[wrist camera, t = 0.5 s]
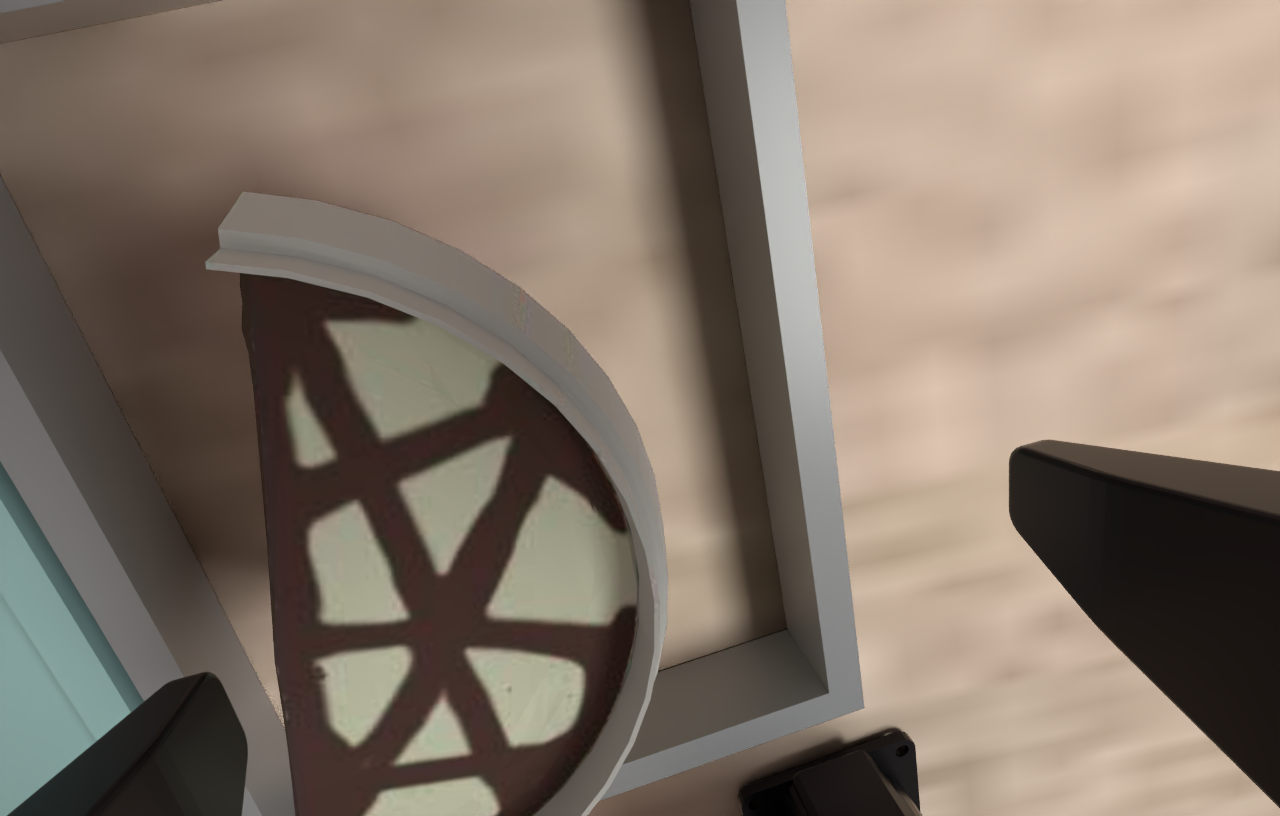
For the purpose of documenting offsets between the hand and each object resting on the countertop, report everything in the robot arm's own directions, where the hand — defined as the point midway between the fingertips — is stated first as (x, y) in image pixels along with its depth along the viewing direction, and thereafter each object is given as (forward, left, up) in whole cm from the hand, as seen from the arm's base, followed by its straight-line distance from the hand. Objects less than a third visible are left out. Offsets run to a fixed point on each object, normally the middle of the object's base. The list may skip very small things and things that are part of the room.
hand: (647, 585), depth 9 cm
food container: (-2, +2, -12) cm, 13 cm away
